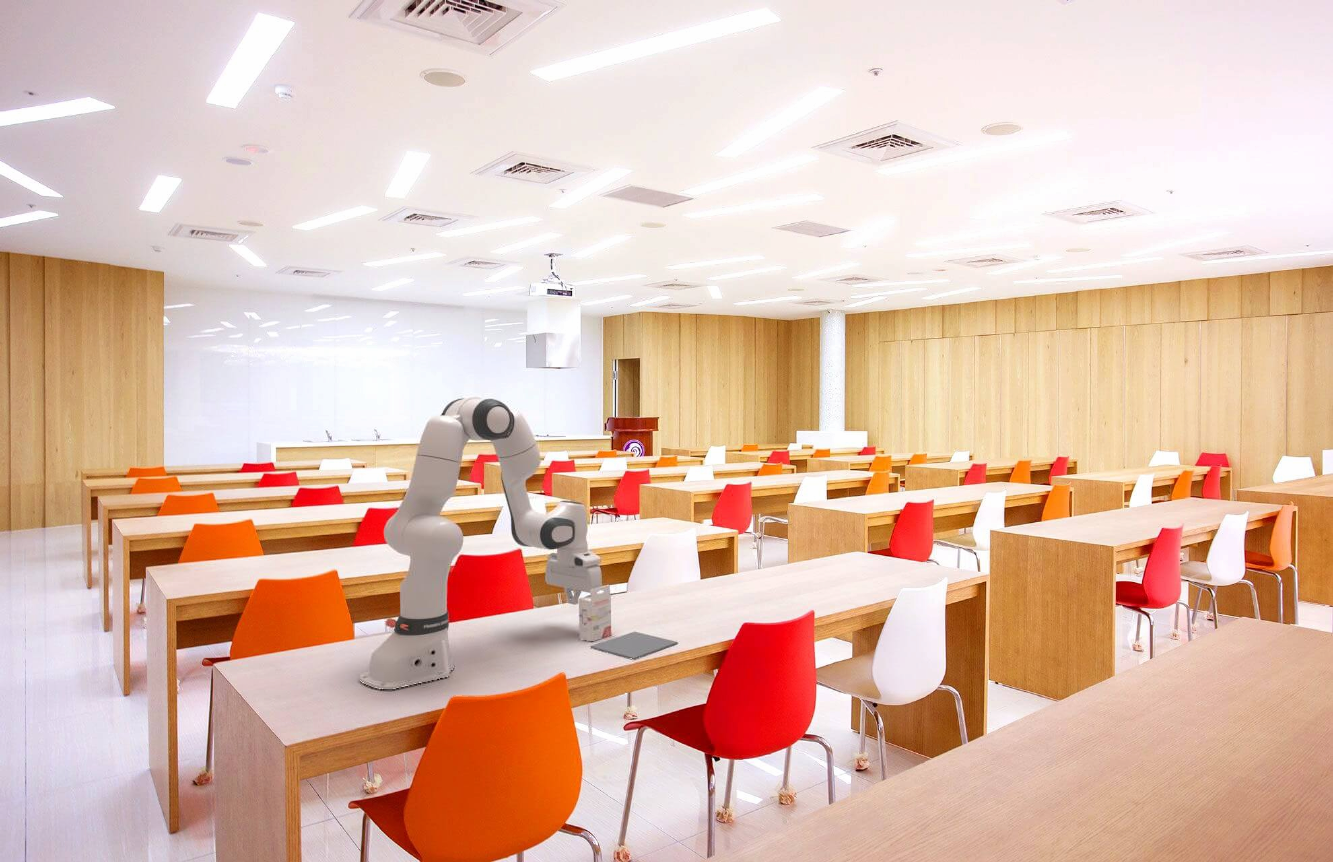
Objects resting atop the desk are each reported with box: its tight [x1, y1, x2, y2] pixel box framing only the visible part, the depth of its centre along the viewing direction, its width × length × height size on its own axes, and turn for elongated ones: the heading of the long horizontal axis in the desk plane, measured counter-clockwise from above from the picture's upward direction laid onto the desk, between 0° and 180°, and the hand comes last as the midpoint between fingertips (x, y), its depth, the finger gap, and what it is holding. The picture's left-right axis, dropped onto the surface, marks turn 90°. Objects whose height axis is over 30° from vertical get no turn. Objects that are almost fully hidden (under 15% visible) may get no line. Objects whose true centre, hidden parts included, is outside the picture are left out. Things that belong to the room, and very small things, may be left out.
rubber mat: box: [589, 631, 679, 660], centre depth 222 cm, size 18×16×1 cm
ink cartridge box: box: [578, 584, 612, 642], centre depth 230 cm, size 9×5×15 cm, turn 143°
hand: (572, 603), depth 236 cm, fingers closed
